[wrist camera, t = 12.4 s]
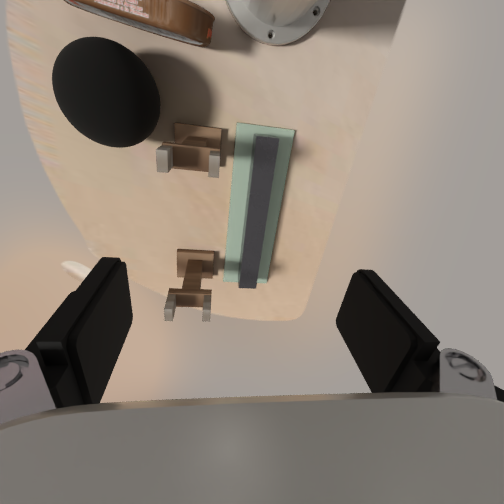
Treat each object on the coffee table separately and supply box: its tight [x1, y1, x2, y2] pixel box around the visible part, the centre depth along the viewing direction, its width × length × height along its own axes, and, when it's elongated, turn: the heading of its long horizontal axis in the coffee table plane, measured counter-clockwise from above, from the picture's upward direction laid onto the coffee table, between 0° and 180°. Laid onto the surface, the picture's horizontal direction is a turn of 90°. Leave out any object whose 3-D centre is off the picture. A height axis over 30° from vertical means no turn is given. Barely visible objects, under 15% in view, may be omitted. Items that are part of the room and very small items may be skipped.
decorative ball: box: [52, 37, 160, 147], centre depth 28 cm, size 10×10×10 cm
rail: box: [238, 134, 280, 288], centre depth 40 cm, size 24×3×3 cm, turn 173°
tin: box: [64, 0, 215, 47], centre depth 25 cm, size 15×3×8 cm, turn 76°
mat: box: [223, 122, 295, 283], centre depth 41 cm, size 26×8×1 cm, turn 173°
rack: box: [156, 123, 221, 321], centre depth 35 cm, size 24×6×13 cm, turn 173°
